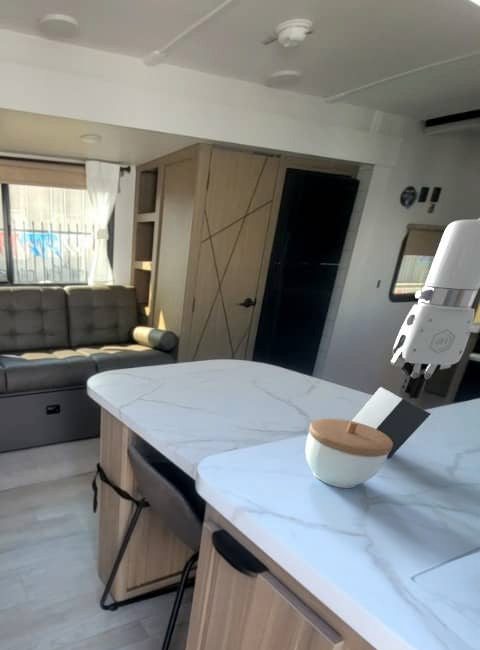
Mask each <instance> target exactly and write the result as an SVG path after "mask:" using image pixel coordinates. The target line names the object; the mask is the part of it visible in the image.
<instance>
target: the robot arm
mask: <svg viewBox="0 0 480 650" xmlns="http://www.w3.org/2000/svg"><path fill="white" fill-rule="evenodd" d="M479 289H480V217H479V218H477V219H459V220H455V221H452V222H451V223H449V224H448V225H447V226H446V228H445V229H444V232H443V234H442V236H441V239H440V242H439V244H438V247H437V250H436V253H435V255H434V258H433V261H432V263H431V266H430V269H429V271H428V274H427V277H426V280H425V283H424V285H423V288H422V290H417V291H416V292H415V294H414V296H415V299H418V301H417V303H415V304H413V306H412V308H411V309H410V311H409V312H408V314H407V315H406V318H405V319H404V322H403V324H402V325H401V328H400V330H399V332H398V334H397V337H396V339H395V341H394V342H395V343H394V344H393V348H392V355H393V356H392V358H391V359H390V362H389V364H390V365H392V366H395V367H398V368H400V369H401V371H402V374H403V375H404V376H403V378H402V382H401V384H400V387H399V391H398V393H399V395H401V396H404V397H405V398H407V399H418V398H419V396H420V394H421V392H422V390H423V387H424V385H425V382H426V380H429V379H430V378H431V377H432V375H433V374H434V373H436V372H437V371H439V370H445V369H449V368H451V367H452V365H454V364H457V363H459V362H460V360H461V358H462V356H463V354H464V352H465V349H466V347H467V344H468V341H469V338H470V335H471V332H472V329H473V325H474V319H475V318H474V317H475V311H476V309H475V308H472V306H473V304H474V302H475V299H476V297H477V294H478V292H479Z"/></svg>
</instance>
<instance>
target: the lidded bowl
mask: <svg viewBox="0 0 480 650" xmlns="http://www.w3.org/2000/svg"><path fill="white" fill-rule="evenodd" d="M392 446H393V442H392V440H391V439H390V438H389V437H388V436H387V435H385V434H384V433H382V432H381V431H379V430H377V429H374V428H372V427H370V426H367V425H364V424H361V423H357V422H354V421H352V420H348V419H342V418H332V417H331V418H330V417H329V418H327V417H326V418H318V419H315V420H313V421H312V422H311V423H310V425H309V427H308V434H307V438H306V442H305V449H304V450H305V451H304V452H305V458H306V462H307V464H308V466H309V468H310V469H311V471H312V474H313V476H314V477H315V478H316V479H317V480H318V481H320V482H322V483H325V484H326V485H329V486H333V487H336V488H341V489H352V488H355V487H356V486H357V485H362V484H364V483H366V482H368V481H369V480H371V479H373V478H374V477H375V476H376V475H377V474H378V472H380V471H381V469H382V468H383V466H384V464H385V462H386V460H387V459H388V458H387V456H388V453H389V452H390V451H391V449H392Z"/></svg>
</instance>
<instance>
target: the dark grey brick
mask: <svg viewBox="0 0 480 650" xmlns="http://www.w3.org/2000/svg"><path fill="white" fill-rule="evenodd" d="M431 414H432V413H430V412H429V411H427V410H425V409H423V408H422V407H420V406H418V405H416V404H414V403H412V402H410V401H409V400H407V399H405V398H403V397H401V396H399V395H398V394H395V393H394V392H392V391H390V390H388V389H386V388H384V387H382V386H380V387H379V388H378V389H376V391H375V392H374V393H373V395H371V396H370V398H369V399H368V400H367V402H366V403H365V404H364V405H363V406H362V408H361V409H360V410H359V412H357V414H356V415H355V416H354V417H353V419H352V420H351V421H354V422H357V423H361V424H364V425H367V426H370V427H372V428H374V429H377V430H379V431H381V432H382V433H384V434H385V435H387V436H388V437H389V438H390V439H391V440H392V442H393V446H392V449H391V451H390V452H389V453H388V456H387V458H386V459H391V458H392V457H393V456H394V455H395V453H396V452H397V451H398V450H399V449H400V448H402V446H403V445H404V444H405V443H406V442H407V440H408V439H409V438H410V437H411V436H412V435H413V434H414V433H415V432H416V431H417V430H418V429H419V428H420V427H421V426H422V424H423V423H424V422H425V421H426V420H427V419H428V418H429V416H431Z"/></svg>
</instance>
